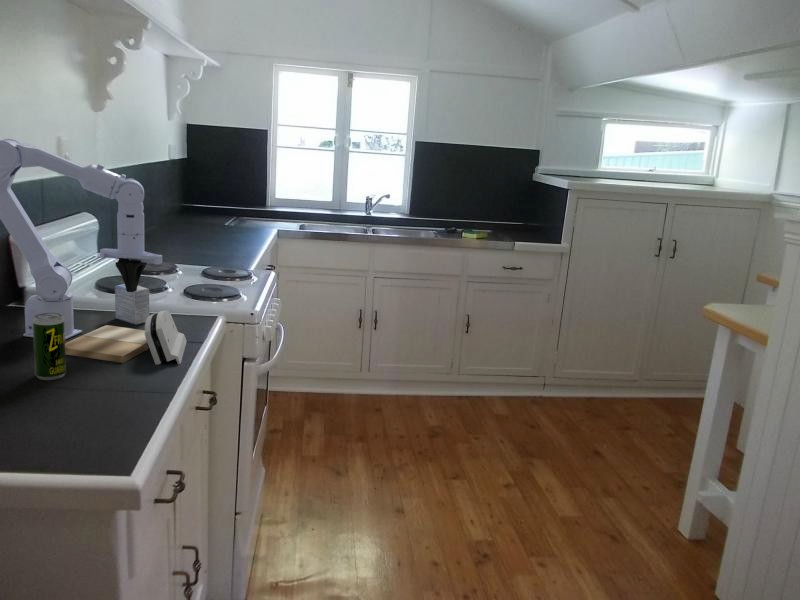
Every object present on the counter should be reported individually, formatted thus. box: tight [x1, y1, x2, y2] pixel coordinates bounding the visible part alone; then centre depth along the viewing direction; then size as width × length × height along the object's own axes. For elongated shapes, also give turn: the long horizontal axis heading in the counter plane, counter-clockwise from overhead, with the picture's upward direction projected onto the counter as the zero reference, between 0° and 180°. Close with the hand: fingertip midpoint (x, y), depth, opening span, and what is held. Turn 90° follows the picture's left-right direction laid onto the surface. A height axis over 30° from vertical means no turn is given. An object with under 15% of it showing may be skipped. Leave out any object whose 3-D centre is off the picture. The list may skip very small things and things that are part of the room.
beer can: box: [32, 313, 67, 381], centre depth 130 cm, size 5×5×12 cm
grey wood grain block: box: [114, 283, 151, 325], centre depth 170 cm, size 8×4×9 cm, turn 58°
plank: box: [65, 335, 145, 364], centre depth 146 cm, size 15×8×2 cm, turn 80°
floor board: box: [82, 324, 150, 352], centre depth 154 cm, size 15×9×2 cm, turn 80°
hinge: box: [144, 309, 188, 366], centre depth 149 cm, size 17×5×10 cm, turn 13°
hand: (131, 291), depth 158 cm, fingers closed
